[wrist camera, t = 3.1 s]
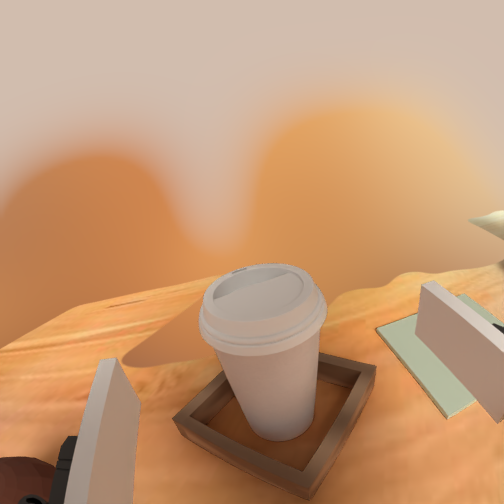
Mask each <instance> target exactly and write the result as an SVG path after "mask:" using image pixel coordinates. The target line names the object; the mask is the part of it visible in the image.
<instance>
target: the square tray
mask: <svg viewBox="0 0 504 504" xmlns="http://www.w3.org/2000/svg"><path fill="white" fill-rule="evenodd" d="M376 367H377V366H375V365H370V364H365V363H361V362H357V361H352V360H348V359H344V358H340V357H336V356H332V355H327V354H324V353H320V352H319V356H318V370H317V379H318V380H321V381H325V382H329V383H332V384H336V385H339V386H343V387H347V388H351V389H352V391H351V393H350V395H349V397H348V398H347V400H346V402H345V404H344V406H343V407H342V409H341V411H340V413H339V415H338V416H337V418H336V420H335V421H334V423H333V425H332V427H331V428H330V430H329V432H328V433H327V435H326V436H325V438H324V440H323V441H322V443H321V445H320V446H319V448H318V449H317V451H316V452H315V454H314V455H313V457H312V459H311V460H310V462H309V463H308V465H307V466H306V468H305V469H304V470H303V471H300V470H298V469H295V468H293V467H290V466H288V465H286V464H283V463H281V462H279V461H276V460H274V459H272V458H269V457H267V456H265V455H263V454H261V453H258V452H256V451H254V450H252V449H250V448H248V447H246V446H244V445H242V444H240V443H238V442H236V441H234V440H232V439H230V438H228V437H226V436H224V435H222V434H220V433H218V432H217V431H215V430H213V429H211V428H209V427H208V426H206V424H207V423H208V422H209V421H210V420H211V419H212V418H213V417H214V416H215V415H216V414H217V413H218V412H219V411H220V410H221V409H222V408H223V407H224V406H225V405H226V404H227V403H228V402H229V401H230V399H231V398H232V397H233V396H234V395H235V394H234V392H233V390H232V387H231V385H230V383H229V381H228V379H227V377H226V374H225V372H224V370H223V371H222V372H221V373H220V374H219V375H217V376H216V377H215V378H214V379H213V380H212V381H211V382H210V383H209V384H208V385H207V386H206V387H205V388H204V389H203V390H202V391H201V392H200V393H199V394H198V395H197V396H196V397H195V398H193V399H192V400H191V401H190V402H189V403H188V404H187V405H186V406H185V407H184V408H183V409H182V410H181V411H180V412H178V413H177V414H176V415H175V416H174V417H173V418H172V419H173V421H174V423H175V424H176V426H177V428H178V429H179V431H180V433H181V434H182V435H183V436H184V437H186V438H187V439H189V440H190V441H192V442H194V443H195V444H197V445H198V446H200V447H202V448H203V449H205V450H207V451H208V452H210V453H212V454H214V455H215V456H217V457H219V458H221V459H222V460H224V461H226V462H228V463H230V464H231V465H233V466H235V467H237V468H239V469H241V470H243V471H245V472H247V473H249V474H251V475H253V476H255V477H257V478H259V479H261V480H263V481H265V482H267V483H269V484H271V485H274V486H276V487H278V488H280V489H283V490H285V491H287V492H290V493H292V494H294V495H297V496H299V497H302V498H304V499H307V500H309V501H310V500H311V498H312V497H313V495H314V494H315V492H316V491H317V489H318V487H319V486H320V484H321V483H322V481H323V480H324V478H325V476H326V475H327V473H328V472H329V470H330V468H331V467H332V465H333V463H334V462H335V460H336V458H337V457H338V455H339V453H340V451H341V450H342V448H343V446H344V444H345V442H346V441H347V439H348V437H349V435H350V433H351V431H352V429H353V428H354V426H355V424H356V422H357V420H358V418H359V416H360V414H361V412H362V410H363V408H364V406H365V404H366V402H367V400H368V397H369V395H370V393H371V391H372V389H373V387H374V382H375V375H376Z"/></svg>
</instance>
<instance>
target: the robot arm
mask: <svg viewBox="0 0 504 504" xmlns="http://www.w3.org/2000/svg"><path fill="white" fill-rule="evenodd" d="M415 335H416V336H417V337H418V338H419V339H420V340H421V341H422V342H423V343H424V344H425V345H426V346H427V347H428V348H429V349H430V350H431V351H432V352H433V353H434V354H435V355H436V356H437V357H438V358H439V360H440V361H441V362H442V363H443V364H444V365H445V366H446V367H447V368H448V369H449V370H450V371H451V372H452V373H453V374H454V376H455V377H456V378H457V379H458V380H459V381H460V382H461V383H462V384H463V385H464V386H465V388H466V389H467V390H468V391H469V392H470V393H471V394H472V395H473V396H474V398H475V399H476V400H477V401H478V402H479V403H480V404H481V405H482V407H483V408H484V409H485V410H486V411H487V412H488V413H489V415H490V416H491V417H492V418H493V419H494V420H495V422H496V423H497V424H498V423H499V422H501V421H502V420H503V419H504V327H502V326H500V325H497V324H495V323H493V324H490V323H489V322H488V321H487V320H485V319H484V318H483V317H482V316H480V315H479V314H478V313H477V312H475V311H474V310H473V309H471V308H470V307H469V306H467V305H466V304H465V303H464V302H462V301H461V300H460V299H458V298H457V297H456V296H454V295H453V294H452V293H450V292H449V291H447V290H446V289H445V288H443V287H442V286H441V285H439V284H438V283H437V282H435V281H431V282H428V283H425V284H422V285H421V293H420V301H419V308H418V315H417V322H416V328H415ZM140 408H141V402H140V400H139V398H138V397H137V395H136V393H135V391H134V390H133V388H132V386H131V384H130V382H129V381H128V379H127V377H126V375H125V373H124V371H123V369H122V367H121V365H120V363H119V361H118V359H117V358H110V359H102V360H100V362H99V365H98V368H97V371H96V374H95V377H94V381H93V384H92V387H91V391H90V394H89V397H88V401H87V404H86V408H85V411H84V415H83V419H82V423H81V426H80V430H79V434H78V436H68V437H67V439H66V440H65V442H64V443H63V445H62V446H61V449H60V453H59V457H58V460H59V461H57V465H56V470H55V473H54V477H53V482H52V486H51V491H50V496H49V501H48V502H47V501H46V500H44V499H43V498H41V497H40V496H38V495H34V494H29V495H26V496H24V497H23V498H22V499H20V500H19V502H18V504H133V489H134V472H135V459H136V447H137V436H138V426H139V417H140Z"/></svg>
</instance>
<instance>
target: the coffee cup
mask: <svg viewBox="0 0 504 504" xmlns="http://www.w3.org/2000/svg"><path fill="white" fill-rule="evenodd" d="M326 316H327V304H326V301H325V298H324V296H323V294H322V292H321V290H320V289H319V288H318V286H317V285H316V284H315V283H314V282H313V279H312V277H311V276H310V275H309V274H308V273H307V272H306V271H304V270H303V269H300V268H298V267H296V266H292V265H287V264H277V263H270V264H269V263H268V264H258V265H252V266H248V267H243V268H240V269H237V270H234V271H232V272H229V273H227V274H225V275H223V276H222V277H220V278H218V279H217V280H216V281H214V282H213V283H212V284H211V285H210V286H209V287H208V288H207V290H206V292H205V294H204V297H203V304H202V306H201V309H200V314H199V331H200V334H201V336H202V337H203V339H204V340H205V341H206V342H207V343H208V344H209V345H211V346H212V347H213V348H214V350H215V352H216V355H217V357H218V359H219V361H220V363H221V366H222V368H223V370H224V372H225V374H226V377H227V379H228V381H229V383H230V385H231V387H232V390H233V392H234V394H235V396H236V398H237V400H238V402H239V404H240V406H241V409H242V411H243V413H244V415H245V417H246V419H247V421H248V423H249V425H250V427H251V429H252V430H253V431H254V433H255V434H257V435H258V436H259V437H261V438H263V439H266V440H270V441H287V440H291V439H293V438H296V437H298V436H300V435H301V434H303V433H304V432H305V431H306V430H307V429H308V428H309V426H310V425H311V423H312V421H313V417H314V407H315V396H316V384H317V370H318V356H319V340H320V327H321V326H322V325H323V323H324V321H325V319H326Z"/></svg>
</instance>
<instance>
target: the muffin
mask: <svg viewBox="0 0 504 504" xmlns="http://www.w3.org/2000/svg"><path fill="white" fill-rule="evenodd" d="M55 470H56V468H55V467H54V466H53V465H51V464H48V463H46V462H43V461H41V460H39V459H37V458H30V457H2V458H0V504H18V502H19V500H20V499H22V498H23V497H24V496H26V495H29V494H34V495H38V496H40V497H41V498H43V499H44V500H46V501H47V502H48V501H49V496H50V491H51V486H52V482H53V477H54V473H55Z"/></svg>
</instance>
